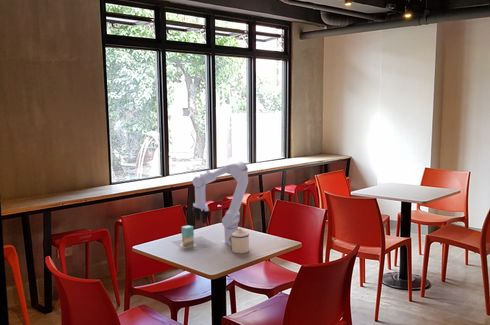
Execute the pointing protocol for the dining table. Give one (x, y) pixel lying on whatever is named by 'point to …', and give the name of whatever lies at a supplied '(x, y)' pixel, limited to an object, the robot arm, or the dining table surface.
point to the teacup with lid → (239, 241)
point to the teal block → (187, 231)
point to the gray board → (195, 244)
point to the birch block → (187, 241)
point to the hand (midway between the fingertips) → (201, 221)
